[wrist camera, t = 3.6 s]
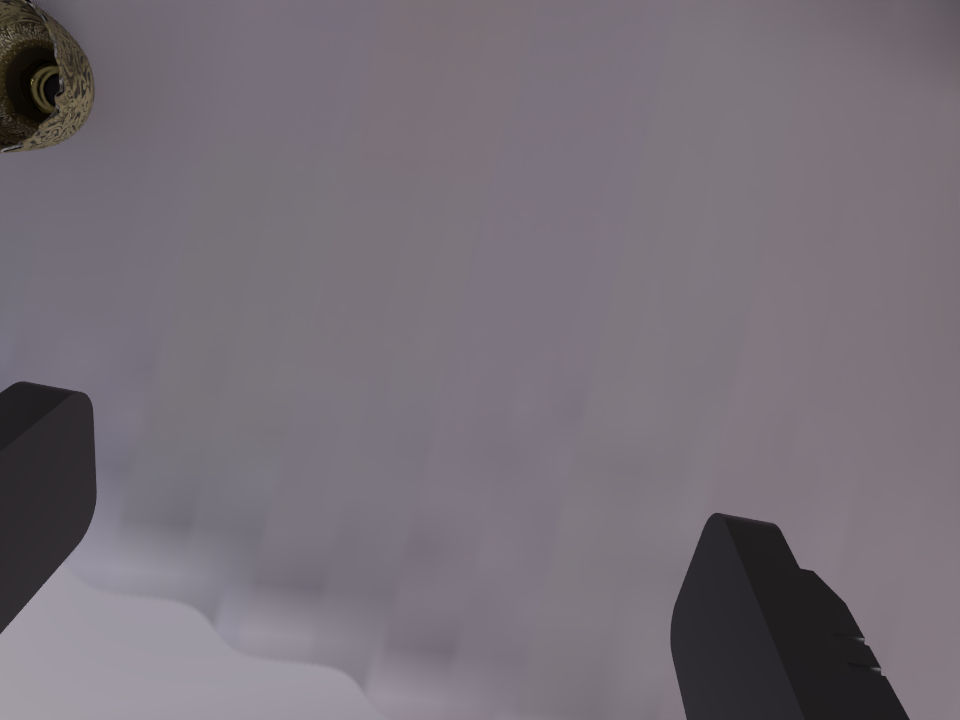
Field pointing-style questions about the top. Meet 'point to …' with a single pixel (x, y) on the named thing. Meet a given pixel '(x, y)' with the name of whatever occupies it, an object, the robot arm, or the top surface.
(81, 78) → the cup
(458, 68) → the top surface
